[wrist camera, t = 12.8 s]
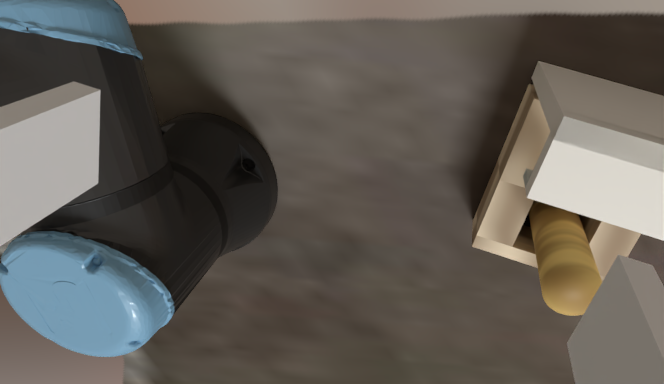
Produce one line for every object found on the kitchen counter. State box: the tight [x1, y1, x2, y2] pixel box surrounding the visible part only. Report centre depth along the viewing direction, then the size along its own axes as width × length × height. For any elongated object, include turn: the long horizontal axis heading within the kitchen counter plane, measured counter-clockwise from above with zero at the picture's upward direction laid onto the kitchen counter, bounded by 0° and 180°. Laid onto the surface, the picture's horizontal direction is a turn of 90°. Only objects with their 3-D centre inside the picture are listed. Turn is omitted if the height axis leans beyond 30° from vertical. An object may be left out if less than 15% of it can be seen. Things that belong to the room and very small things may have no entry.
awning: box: [523, 61, 664, 240], centre depth 39 cm, size 12×6×16 cm, turn 77°
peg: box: [528, 200, 602, 316], centre depth 44 cm, size 4×4×14 cm
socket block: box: [472, 84, 641, 282], centre depth 46 cm, size 12×14×5 cm
